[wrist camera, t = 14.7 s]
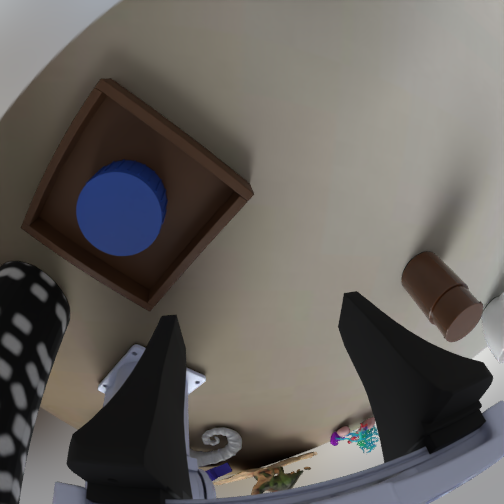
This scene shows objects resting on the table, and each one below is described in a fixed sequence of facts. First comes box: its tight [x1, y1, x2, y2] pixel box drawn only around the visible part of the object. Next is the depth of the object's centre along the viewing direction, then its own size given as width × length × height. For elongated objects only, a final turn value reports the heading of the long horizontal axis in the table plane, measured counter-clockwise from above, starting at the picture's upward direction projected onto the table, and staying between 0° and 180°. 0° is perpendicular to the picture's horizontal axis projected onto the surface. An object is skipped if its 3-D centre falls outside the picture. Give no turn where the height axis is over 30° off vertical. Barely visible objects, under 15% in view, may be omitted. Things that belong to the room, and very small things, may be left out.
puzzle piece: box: [205, 462, 232, 481], centre depth 37 cm, size 10×12×2 cm
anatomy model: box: [330, 417, 379, 452], centre depth 38 cm, size 5×8×7 cm
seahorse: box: [189, 427, 242, 468], centre depth 34 cm, size 5×12×20 cm
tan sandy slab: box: [213, 452, 317, 495], centre depth 40 cm, size 18×14×8 cm
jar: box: [402, 251, 483, 342], centre depth 23 cm, size 4×4×7 cm
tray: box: [21, 78, 254, 311], centre depth 18 cm, size 11×11×2 cm
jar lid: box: [76, 159, 168, 256], centre depth 17 cm, size 5×5×3 cm
